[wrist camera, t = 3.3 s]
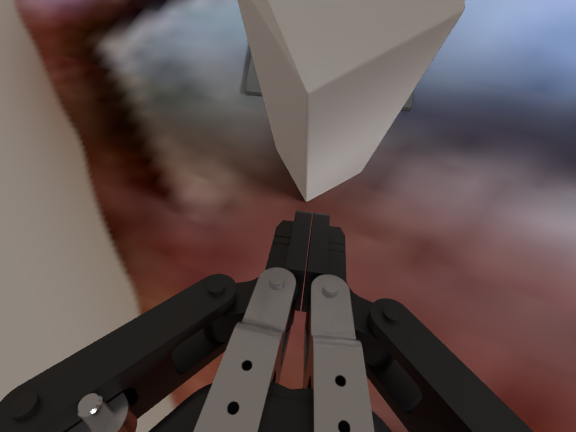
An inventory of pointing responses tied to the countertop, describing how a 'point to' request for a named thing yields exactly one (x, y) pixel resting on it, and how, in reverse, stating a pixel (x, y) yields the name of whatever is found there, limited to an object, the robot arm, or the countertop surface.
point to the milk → (339, 76)
